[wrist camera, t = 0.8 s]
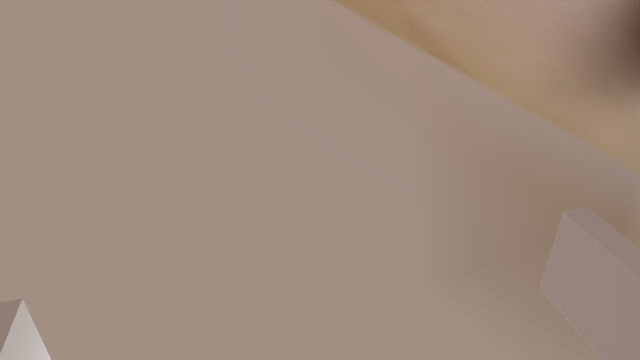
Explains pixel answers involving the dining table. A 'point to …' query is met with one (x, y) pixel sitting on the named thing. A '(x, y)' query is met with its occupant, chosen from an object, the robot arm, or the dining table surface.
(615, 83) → the dining table surface
